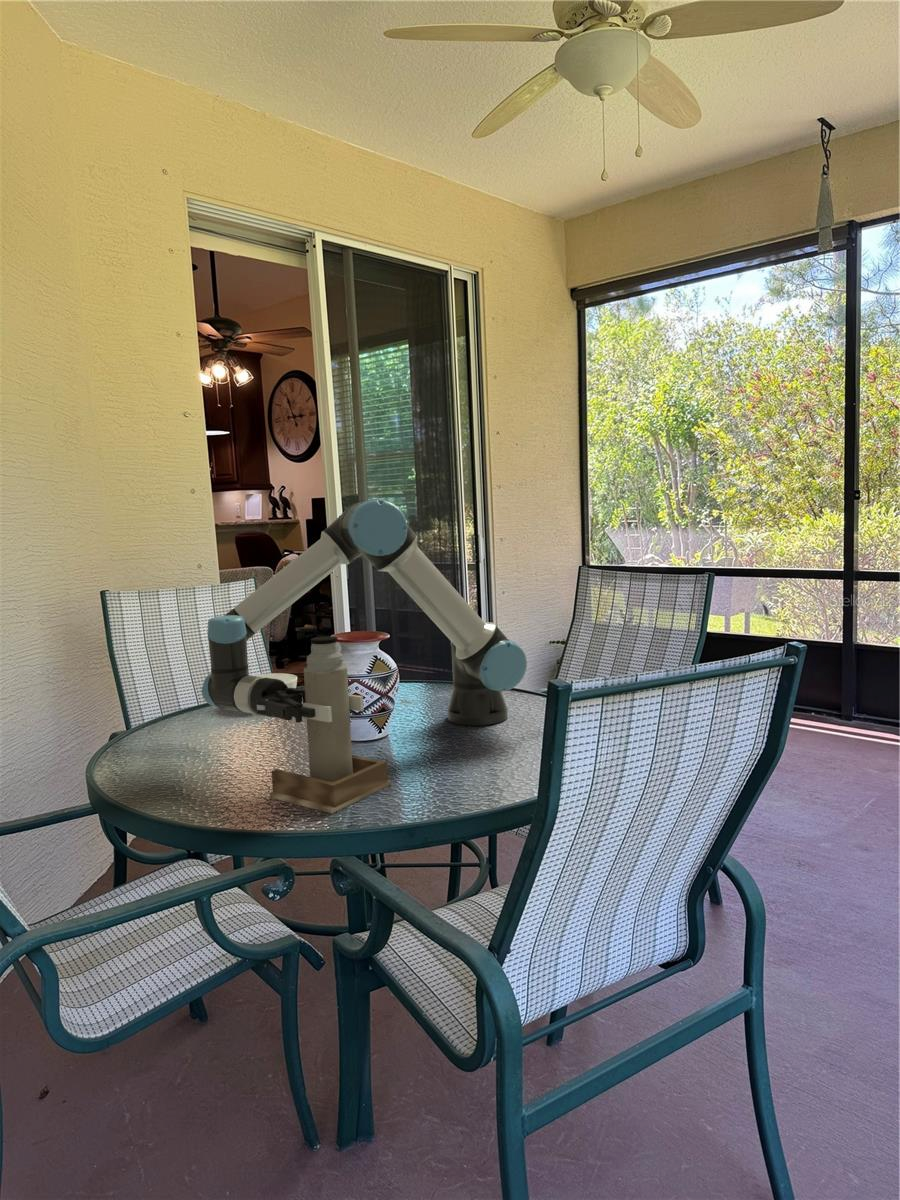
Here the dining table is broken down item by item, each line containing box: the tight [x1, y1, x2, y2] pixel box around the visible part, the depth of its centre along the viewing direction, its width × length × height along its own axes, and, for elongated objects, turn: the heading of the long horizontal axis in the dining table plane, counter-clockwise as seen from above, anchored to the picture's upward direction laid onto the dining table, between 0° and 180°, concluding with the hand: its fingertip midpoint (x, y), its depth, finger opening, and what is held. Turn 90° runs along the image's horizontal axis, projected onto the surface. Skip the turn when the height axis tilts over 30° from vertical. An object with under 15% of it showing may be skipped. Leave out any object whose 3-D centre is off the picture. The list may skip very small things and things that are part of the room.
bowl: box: [251, 672, 298, 689], centre depth 212 cm, size 18×18×7 cm
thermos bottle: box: [303, 635, 353, 782], centre depth 140 cm, size 8×8×28 cm
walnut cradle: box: [269, 754, 391, 815], centre depth 141 cm, size 16×16×5 cm
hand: (346, 708), depth 137 cm, fingers closed on thermos bottle, 8 cm apart
